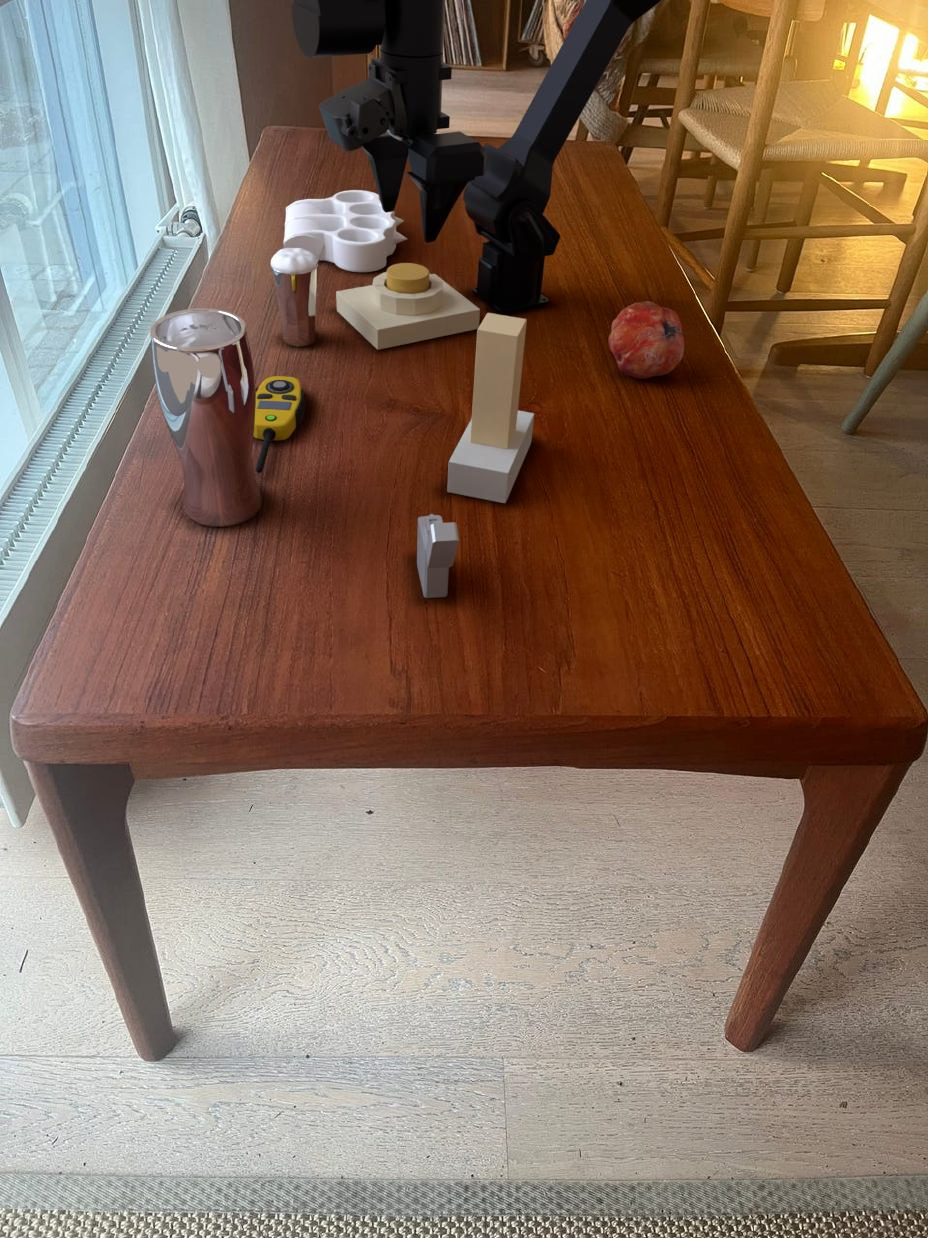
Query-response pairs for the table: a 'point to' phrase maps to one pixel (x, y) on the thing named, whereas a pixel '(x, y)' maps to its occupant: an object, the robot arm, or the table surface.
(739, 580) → the table surface
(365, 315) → the bell stand
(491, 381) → the stamp
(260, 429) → the remote control
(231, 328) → the beer glass
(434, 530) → the lighter
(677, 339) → the pomegranate
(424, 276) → the bell button
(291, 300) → the milkshake
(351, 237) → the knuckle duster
